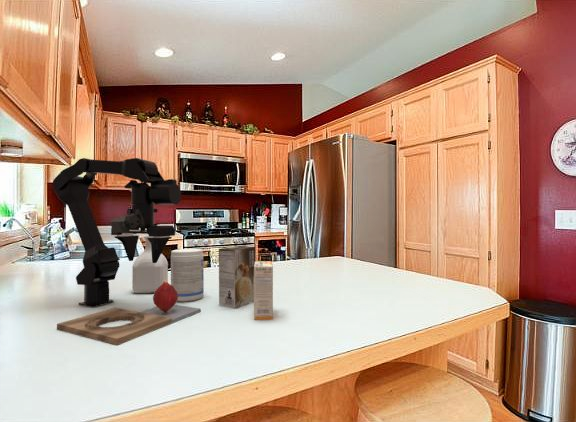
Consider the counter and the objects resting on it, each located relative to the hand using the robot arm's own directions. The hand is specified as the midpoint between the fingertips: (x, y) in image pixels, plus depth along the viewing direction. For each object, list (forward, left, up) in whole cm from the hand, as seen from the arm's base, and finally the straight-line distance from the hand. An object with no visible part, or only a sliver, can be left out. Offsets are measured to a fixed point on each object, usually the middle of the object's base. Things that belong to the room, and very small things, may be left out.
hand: (142, 261), depth 88 cm
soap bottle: (-14, +15, -13) cm, 24 cm away
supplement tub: (+4, +13, -13) cm, 19 cm away
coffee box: (+21, +15, -13) cm, 29 cm away
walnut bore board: (+7, -13, -12) cm, 19 cm away
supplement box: (+33, +9, -13) cm, 36 cm away
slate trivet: (+11, -2, -12) cm, 17 cm away
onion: (+11, -2, -12) cm, 16 cm away
